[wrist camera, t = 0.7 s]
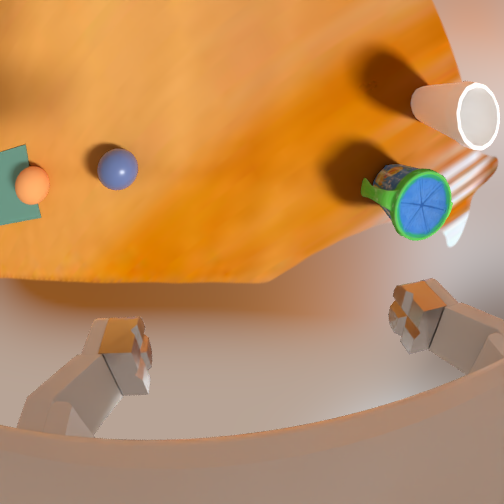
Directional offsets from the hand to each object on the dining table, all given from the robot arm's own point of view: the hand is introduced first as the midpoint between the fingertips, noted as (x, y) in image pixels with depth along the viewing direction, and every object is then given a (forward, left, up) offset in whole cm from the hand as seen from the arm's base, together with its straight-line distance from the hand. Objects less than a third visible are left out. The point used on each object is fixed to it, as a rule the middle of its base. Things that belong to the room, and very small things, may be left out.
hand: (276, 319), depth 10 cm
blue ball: (+2, -14, -35) cm, 37 cm away
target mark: (+2, -36, -37) cm, 52 cm away
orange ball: (+2, -28, -35) cm, 44 cm away
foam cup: (-6, +33, -38) cm, 50 cm away
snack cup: (+8, +27, -38) cm, 47 cm away
